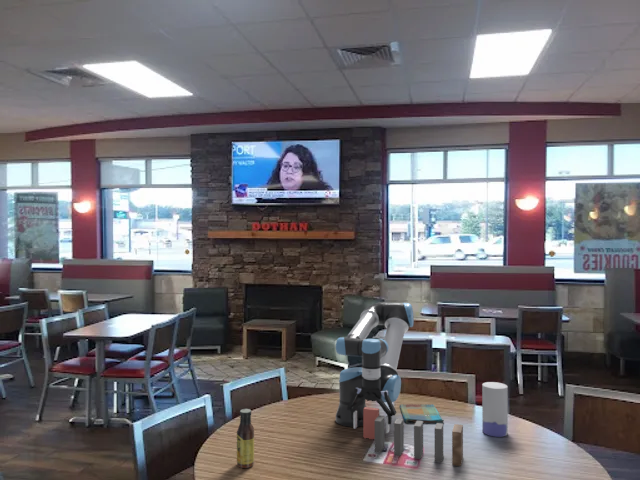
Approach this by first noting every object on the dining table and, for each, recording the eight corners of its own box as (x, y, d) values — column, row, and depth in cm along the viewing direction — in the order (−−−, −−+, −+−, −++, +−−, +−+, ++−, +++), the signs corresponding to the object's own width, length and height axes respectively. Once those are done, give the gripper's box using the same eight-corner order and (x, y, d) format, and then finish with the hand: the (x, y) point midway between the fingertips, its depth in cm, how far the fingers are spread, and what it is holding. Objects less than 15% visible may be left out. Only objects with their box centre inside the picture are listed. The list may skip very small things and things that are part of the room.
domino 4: (434, 461, 185) (434, 428, 185) (436, 454, 191) (436, 422, 191) (441, 462, 184) (441, 429, 184) (443, 455, 190) (443, 423, 190)
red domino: (377, 440, 205) (377, 410, 205) (363, 438, 207) (363, 408, 207) (379, 437, 207) (379, 408, 207) (365, 435, 209) (365, 406, 209)
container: (507, 429, 216) (507, 382, 216) (507, 438, 206) (507, 389, 206) (482, 427, 219) (482, 380, 219) (482, 435, 209) (482, 387, 209)
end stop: (452, 465, 182) (452, 431, 182) (454, 456, 189) (454, 424, 189) (460, 466, 181) (460, 432, 181) (462, 457, 188) (462, 425, 188)
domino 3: (414, 458, 188) (414, 425, 188) (416, 451, 193) (416, 420, 193) (420, 459, 187) (420, 426, 187) (423, 452, 192) (423, 421, 192)
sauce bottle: (237, 461, 185) (237, 407, 185) (254, 461, 185) (254, 406, 185) (235, 469, 178) (235, 413, 178) (253, 469, 179) (253, 412, 179)
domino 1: (374, 452, 193) (374, 420, 193) (378, 446, 199) (378, 415, 199) (380, 453, 192) (380, 421, 192) (384, 447, 198) (384, 416, 198)
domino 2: (394, 455, 190) (394, 423, 190) (397, 448, 196) (397, 417, 196) (400, 456, 189) (400, 423, 189) (403, 449, 195) (403, 418, 195)
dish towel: (405, 424, 223) (405, 419, 223) (398, 407, 247) (398, 402, 247) (444, 425, 222) (444, 419, 222) (434, 407, 246) (434, 402, 246)
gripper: (339, 377, 208) (339, 428, 208) (399, 383, 199) (399, 437, 199) (345, 372, 215) (345, 422, 215) (403, 378, 206) (403, 430, 206)
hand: (371, 429), depth 207 cm, fingers open, 13 cm apart
